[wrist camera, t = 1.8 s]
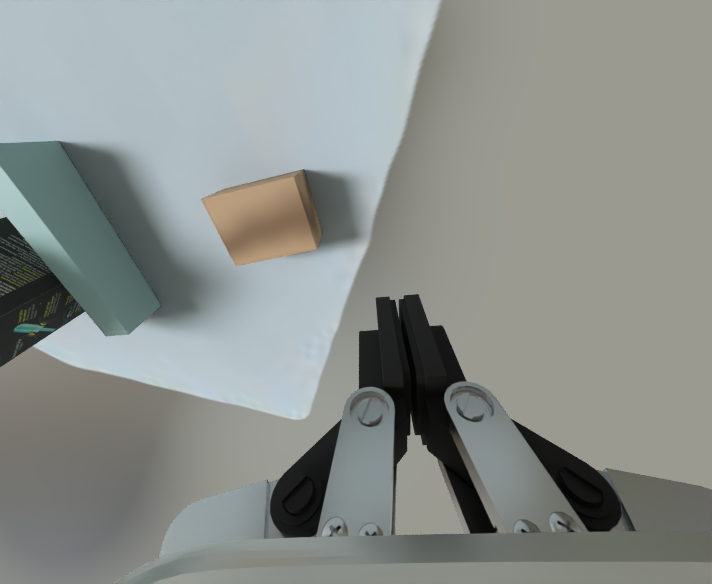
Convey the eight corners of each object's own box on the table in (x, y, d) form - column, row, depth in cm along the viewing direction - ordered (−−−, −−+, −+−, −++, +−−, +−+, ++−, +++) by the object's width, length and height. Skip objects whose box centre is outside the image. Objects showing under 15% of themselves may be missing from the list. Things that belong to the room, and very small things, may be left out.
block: (224, 188, 28) (201, 199, 24) (304, 169, 27) (293, 176, 22) (252, 247, 31) (235, 266, 27) (322, 232, 30) (317, 249, 26)
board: (30, 144, 26) (-51, 148, 20) (58, 141, 25) (-17, 144, 20) (141, 307, 36) (105, 336, 31) (161, 305, 36) (128, 334, 31)
